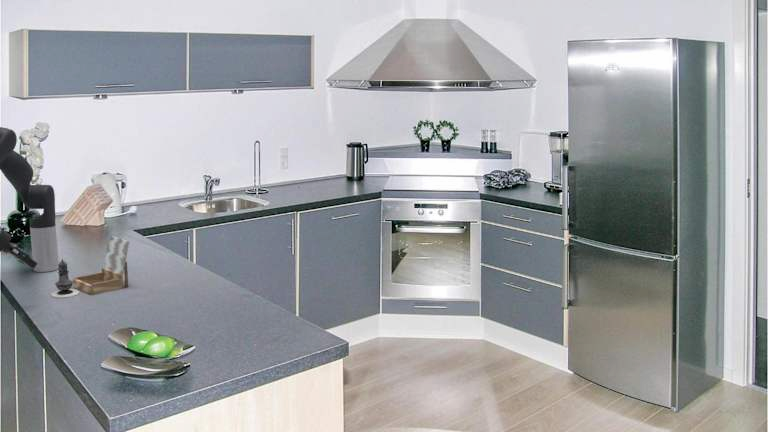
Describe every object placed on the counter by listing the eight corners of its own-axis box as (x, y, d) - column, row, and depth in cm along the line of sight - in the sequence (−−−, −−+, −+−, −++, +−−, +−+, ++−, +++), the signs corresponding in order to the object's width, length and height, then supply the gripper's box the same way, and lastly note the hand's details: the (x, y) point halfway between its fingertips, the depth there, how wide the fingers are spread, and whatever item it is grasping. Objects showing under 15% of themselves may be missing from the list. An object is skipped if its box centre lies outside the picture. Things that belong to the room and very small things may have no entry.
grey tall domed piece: (55, 295, 282) (52, 261, 280) (56, 291, 288) (54, 257, 286) (73, 294, 284) (70, 260, 282) (74, 289, 289) (72, 256, 287)
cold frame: (73, 287, 295) (69, 241, 292) (113, 279, 306) (110, 235, 303) (91, 294, 285) (87, 247, 282) (132, 286, 296) (129, 240, 293)
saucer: (47, 294, 286) (47, 292, 286) (72, 289, 292) (72, 287, 292) (58, 299, 280) (58, 297, 280) (83, 294, 286) (83, 292, 286)
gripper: (7, 230, 263) (46, 258, 273) (-9, 223, 273) (29, 251, 283) (-9, 249, 261) (31, 276, 271) (-25, 241, 271) (14, 268, 281)
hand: (30, 263), depth 277 cm, fingers open, 8 cm apart
